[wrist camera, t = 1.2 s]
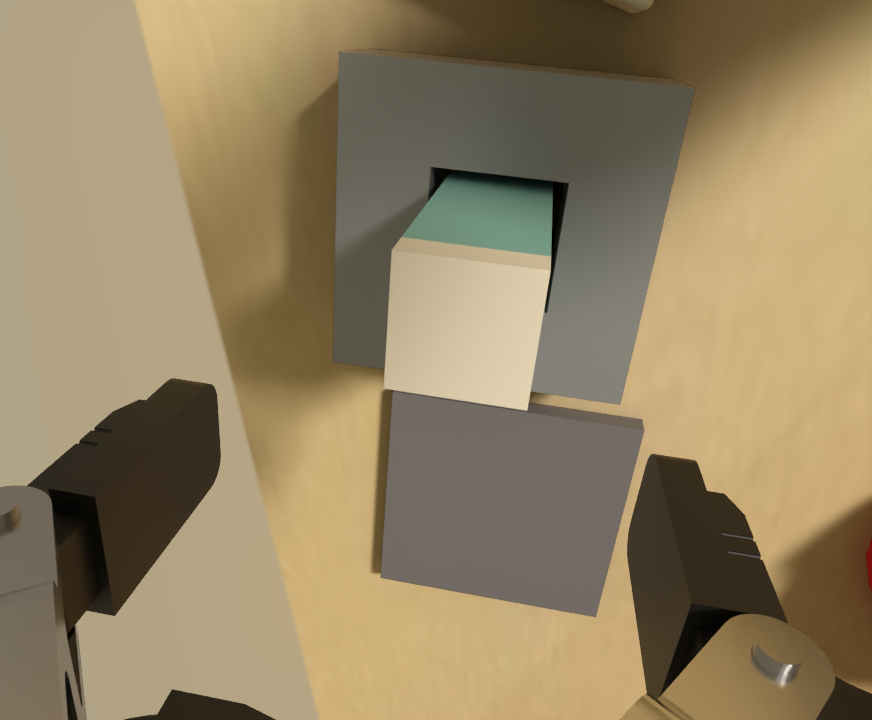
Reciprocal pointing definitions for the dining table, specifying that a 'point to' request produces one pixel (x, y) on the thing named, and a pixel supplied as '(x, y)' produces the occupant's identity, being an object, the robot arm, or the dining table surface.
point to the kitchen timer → (869, 564)
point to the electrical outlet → (631, 5)
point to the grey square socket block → (520, 157)
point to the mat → (506, 499)
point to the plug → (471, 291)
